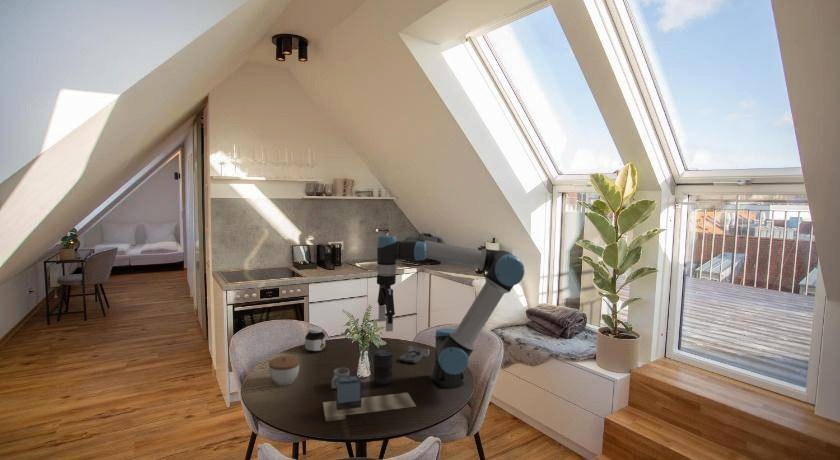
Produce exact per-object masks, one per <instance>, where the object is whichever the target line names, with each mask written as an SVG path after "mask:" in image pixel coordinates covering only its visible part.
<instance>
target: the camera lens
mask: <svg viewBox="0 0 840 460" xmlns="http://www.w3.org/2000/svg"><path fill="white" fill-rule="evenodd" d="M393 364H394V354H393V352H392V350H388V349H380V350H379V349H378V350H376V351H375V352H374V354H373V366H374V367H373V382H374V383H373V384H374V386H376V387H380V388H385V387H390V386H392V384H393V372H394V367H393Z"/></svg>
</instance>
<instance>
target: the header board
mask: <svg viewBox="0 0 840 460" xmlns="http://www.w3.org/2000/svg"><path fill="white" fill-rule="evenodd" d="M413 407H414V408H415V407H417V405H416V403H415V402H414V400H413V398H412V397H411V395H410V394H409V392H400V393H394V394H393V393H391V394H384V395H375V396H365V397H360V401H353V402H344V403H338V399H337V398H336V399H335V400H330V401H323V402H322V409H323V415H324V419H325V421H326V422H333V421H340V420H347V417H346V416H351V415H358V414H366V413H367V414H368V413H374V412H375V413H376V412H384V411H390V410H397V409H398V410H399V409H407V408H413Z"/></svg>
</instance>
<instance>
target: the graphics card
mask: <svg viewBox="0 0 840 460" xmlns="http://www.w3.org/2000/svg"><path fill="white" fill-rule="evenodd" d="M429 355H430V349H429V348H425V347H419V346H415V345H409V346H407V351H406V352H405V353H404V354H402V355H401V356H399V357H398V360H399V361H403V362H406V363H407V362H408V363H412V364H413V363H414V364H416V363H418V362H419V361H421V360H422V359H423V357H424V356H425V357H426V356H427V357H428V356H429ZM427 357H426V358H427ZM421 358H422V359H421Z"/></svg>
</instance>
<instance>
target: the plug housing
mask: <svg viewBox="0 0 840 460" xmlns="http://www.w3.org/2000/svg"><path fill="white" fill-rule="evenodd" d="M336 391H337V392H336V395H337V397H336V399H338V403H344V402H353V401H360V398H361V379H360V376H359V375H349V376H347V377H337V389H336Z"/></svg>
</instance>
